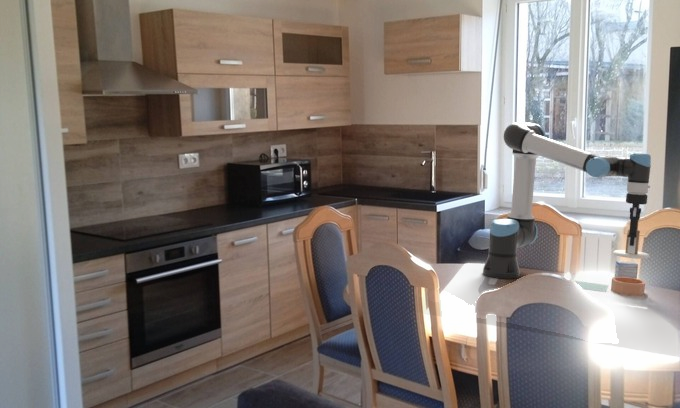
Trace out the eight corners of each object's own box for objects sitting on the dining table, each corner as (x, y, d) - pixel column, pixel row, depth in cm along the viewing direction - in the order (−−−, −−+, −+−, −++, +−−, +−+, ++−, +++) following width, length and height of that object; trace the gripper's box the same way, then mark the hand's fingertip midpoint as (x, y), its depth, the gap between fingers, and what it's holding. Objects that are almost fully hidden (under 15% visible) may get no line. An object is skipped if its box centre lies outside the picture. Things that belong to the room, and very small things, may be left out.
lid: (612, 255, 268) (614, 230, 266) (614, 250, 279) (616, 226, 278) (648, 260, 262) (651, 234, 261) (649, 254, 274) (652, 230, 273)
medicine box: (633, 282, 292) (635, 261, 291) (636, 284, 288) (638, 264, 287) (613, 280, 293) (615, 260, 292) (616, 283, 289) (618, 262, 288)
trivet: (570, 288, 276) (570, 287, 276) (575, 282, 287) (575, 280, 287) (605, 293, 270) (605, 292, 270) (608, 286, 282) (608, 285, 282)
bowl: (609, 293, 270) (610, 281, 269) (612, 287, 281) (613, 275, 280) (643, 298, 265) (644, 285, 264) (644, 291, 276) (645, 279, 275)
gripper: (646, 196, 258) (640, 257, 261) (648, 192, 274) (642, 250, 277) (625, 194, 261) (619, 255, 264) (628, 190, 277) (622, 248, 280)
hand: (631, 252), depth 271 cm, fingers closed on lid, 4 cm apart
